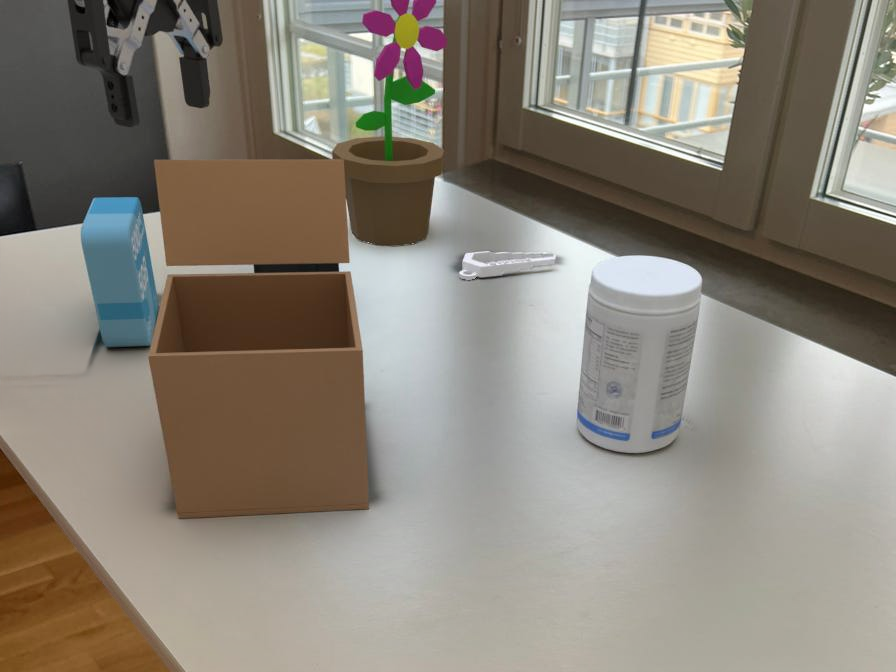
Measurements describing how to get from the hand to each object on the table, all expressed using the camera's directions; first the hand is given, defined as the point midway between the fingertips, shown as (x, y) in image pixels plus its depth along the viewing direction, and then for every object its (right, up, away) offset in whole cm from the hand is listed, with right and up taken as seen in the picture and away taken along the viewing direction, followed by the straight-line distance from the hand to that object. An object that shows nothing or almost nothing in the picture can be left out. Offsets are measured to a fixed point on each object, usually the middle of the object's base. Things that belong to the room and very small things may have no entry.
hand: (163, 115), depth 84 cm
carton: (+9, -29, +1) cm, 31 cm away
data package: (-10, -11, +22) cm, 27 cm away
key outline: (+30, +2, +40) cm, 50 cm away
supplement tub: (+40, -25, +8) cm, 48 cm away
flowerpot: (+15, +10, +49) cm, 52 cm away
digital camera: (+6, -5, +30) cm, 32 cm away
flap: (+8, -10, -3) cm, 13 cm away
